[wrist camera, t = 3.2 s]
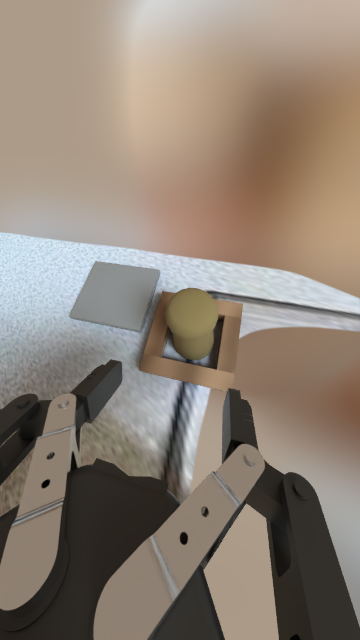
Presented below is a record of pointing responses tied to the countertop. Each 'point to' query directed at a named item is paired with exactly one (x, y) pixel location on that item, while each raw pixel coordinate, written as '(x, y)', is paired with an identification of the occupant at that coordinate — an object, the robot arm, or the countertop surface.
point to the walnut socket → (189, 372)
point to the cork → (192, 322)
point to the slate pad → (116, 296)
